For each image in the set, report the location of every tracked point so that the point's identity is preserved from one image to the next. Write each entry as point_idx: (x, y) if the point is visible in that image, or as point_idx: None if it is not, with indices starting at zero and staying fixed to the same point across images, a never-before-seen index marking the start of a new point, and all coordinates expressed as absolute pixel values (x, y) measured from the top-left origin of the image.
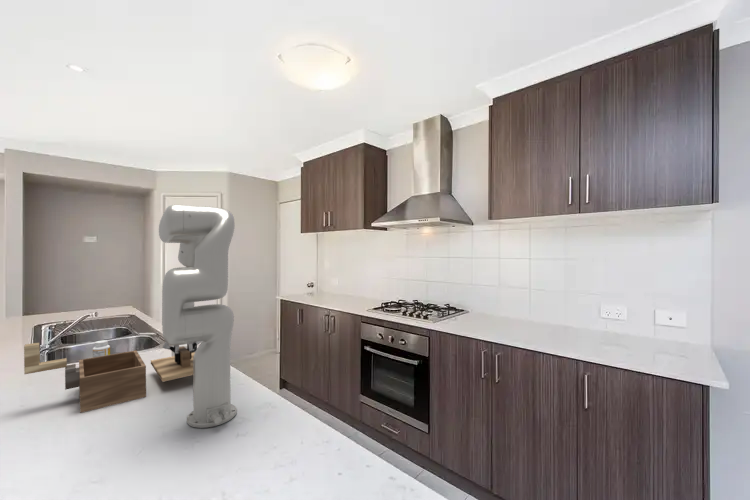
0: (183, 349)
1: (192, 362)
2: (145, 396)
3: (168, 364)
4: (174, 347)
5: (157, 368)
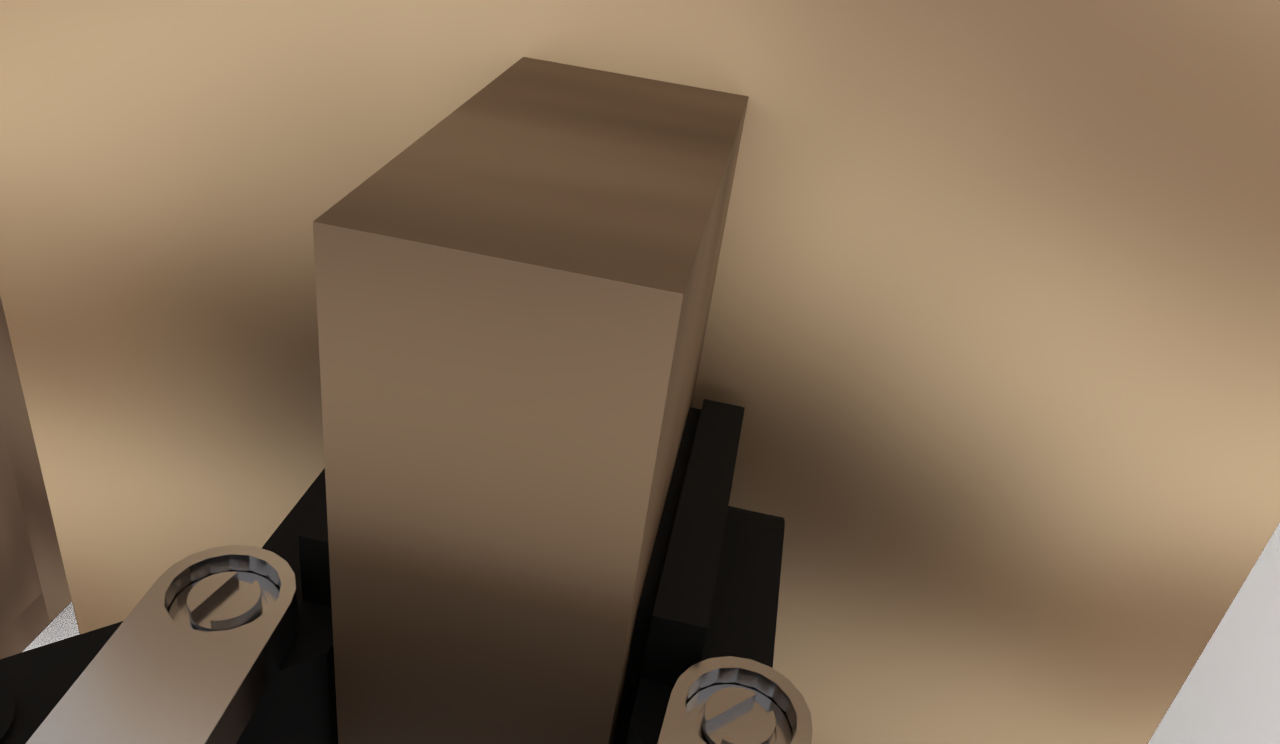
0: (489, 742)
1: None
2: (67, 597)
3: (273, 249)
4: (101, 738)
5: (33, 337)
